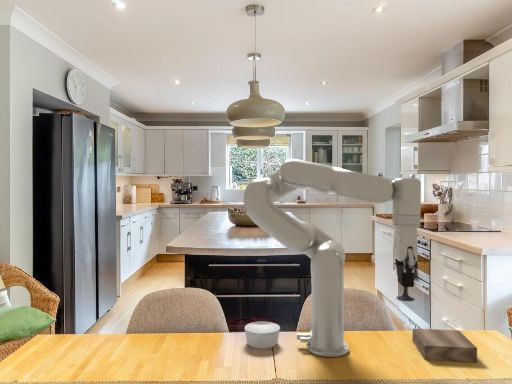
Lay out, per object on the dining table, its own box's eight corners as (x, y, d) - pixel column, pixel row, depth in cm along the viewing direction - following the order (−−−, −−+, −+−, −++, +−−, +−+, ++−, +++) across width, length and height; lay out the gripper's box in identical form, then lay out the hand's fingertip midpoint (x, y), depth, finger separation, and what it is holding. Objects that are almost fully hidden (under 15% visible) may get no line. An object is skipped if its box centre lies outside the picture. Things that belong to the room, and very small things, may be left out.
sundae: (417, 296, 120) (418, 245, 120) (418, 303, 114) (419, 249, 114) (393, 294, 122) (394, 244, 122) (393, 300, 116) (393, 247, 116)
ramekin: (273, 335, 136) (273, 319, 136) (285, 348, 125) (285, 331, 125) (240, 339, 133) (240, 322, 133) (249, 352, 122) (249, 334, 122)
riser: (424, 359, 117) (424, 345, 117) (412, 341, 131) (412, 328, 131) (477, 362, 115) (477, 348, 115) (459, 343, 129) (459, 330, 129)
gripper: (387, 218, 127) (386, 277, 127) (399, 223, 110) (398, 291, 110) (412, 218, 126) (411, 278, 126) (428, 223, 109) (427, 292, 109)
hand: (405, 283), depth 118 cm, fingers closed on sundae, 4 cm apart
